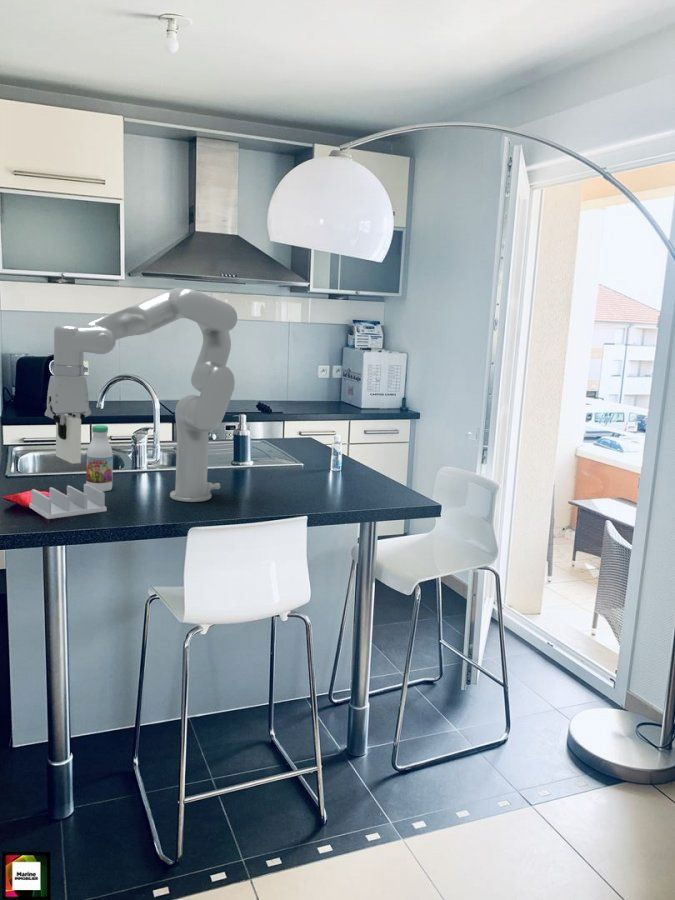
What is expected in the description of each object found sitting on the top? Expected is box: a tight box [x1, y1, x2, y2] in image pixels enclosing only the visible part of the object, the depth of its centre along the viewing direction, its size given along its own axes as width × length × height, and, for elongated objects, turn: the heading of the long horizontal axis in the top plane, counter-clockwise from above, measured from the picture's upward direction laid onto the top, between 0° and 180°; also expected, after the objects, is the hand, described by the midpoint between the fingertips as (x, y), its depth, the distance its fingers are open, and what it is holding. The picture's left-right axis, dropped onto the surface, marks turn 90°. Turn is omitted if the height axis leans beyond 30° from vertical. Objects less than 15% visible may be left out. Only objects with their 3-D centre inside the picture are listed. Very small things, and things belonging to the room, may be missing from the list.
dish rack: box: [28, 483, 108, 520], centre depth 208 cm, size 17×13×5 cm
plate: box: [55, 413, 82, 465], centre depth 204 cm, size 2×11×12 cm, turn 42°
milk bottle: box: [85, 424, 114, 492], centre depth 230 cm, size 8×8×20 cm
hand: (68, 437), depth 204 cm, fingers closed on plate, 2 cm apart
